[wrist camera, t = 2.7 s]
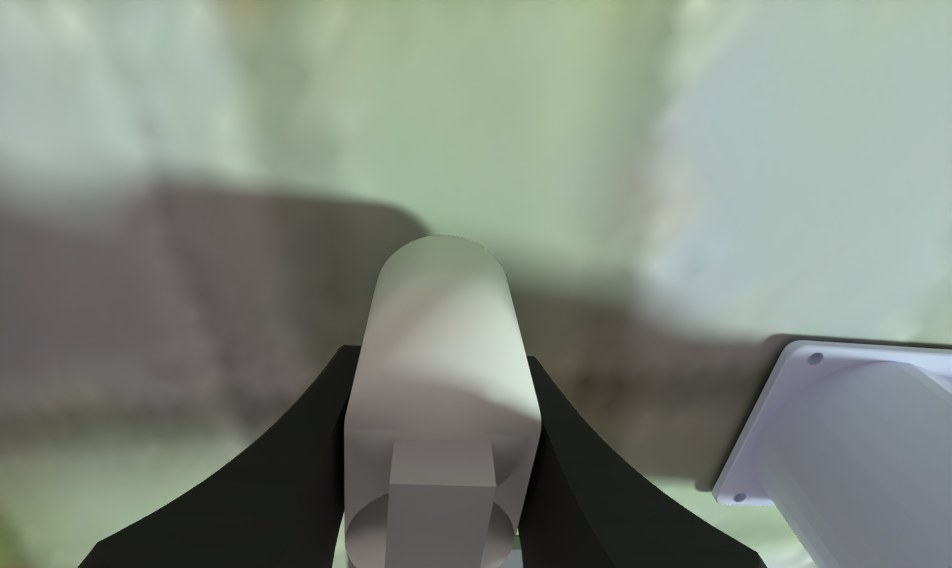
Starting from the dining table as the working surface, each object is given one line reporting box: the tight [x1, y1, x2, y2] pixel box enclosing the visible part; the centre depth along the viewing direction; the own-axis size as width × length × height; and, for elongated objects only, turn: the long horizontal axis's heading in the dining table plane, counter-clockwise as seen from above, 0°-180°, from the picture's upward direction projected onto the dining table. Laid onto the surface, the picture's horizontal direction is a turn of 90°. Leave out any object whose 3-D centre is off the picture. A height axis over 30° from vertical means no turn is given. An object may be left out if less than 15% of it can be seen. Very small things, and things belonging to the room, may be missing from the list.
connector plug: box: [344, 235, 541, 568], centre depth 12 cm, size 4×7×6 cm, turn 173°
